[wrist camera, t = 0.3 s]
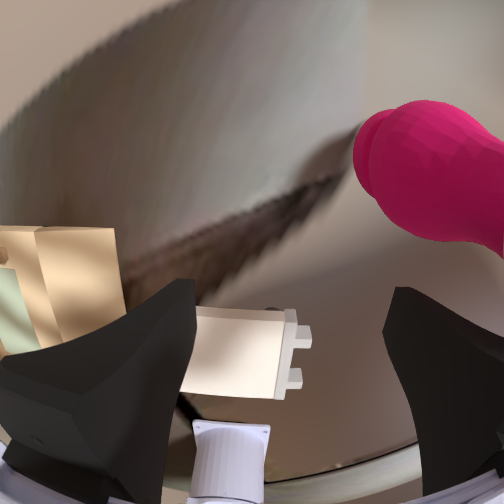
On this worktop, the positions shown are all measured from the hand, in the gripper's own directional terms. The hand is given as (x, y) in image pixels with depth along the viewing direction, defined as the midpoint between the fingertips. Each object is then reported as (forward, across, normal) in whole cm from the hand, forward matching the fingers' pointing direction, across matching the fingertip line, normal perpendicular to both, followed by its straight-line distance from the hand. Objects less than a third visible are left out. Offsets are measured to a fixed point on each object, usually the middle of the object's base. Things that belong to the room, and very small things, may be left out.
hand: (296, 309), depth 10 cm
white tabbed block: (+10, +4, +10) cm, 15 cm away
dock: (+11, +21, +10) cm, 25 cm away
